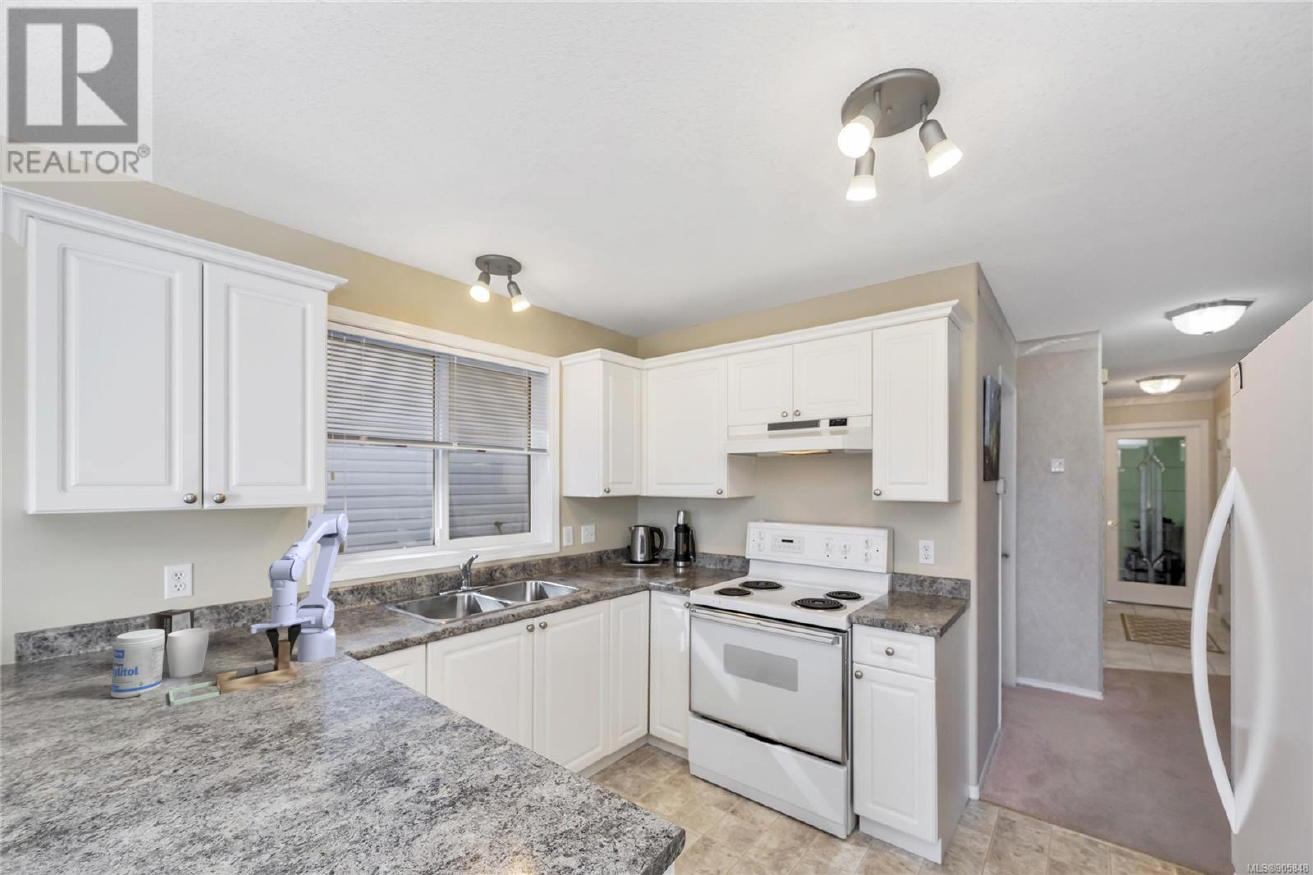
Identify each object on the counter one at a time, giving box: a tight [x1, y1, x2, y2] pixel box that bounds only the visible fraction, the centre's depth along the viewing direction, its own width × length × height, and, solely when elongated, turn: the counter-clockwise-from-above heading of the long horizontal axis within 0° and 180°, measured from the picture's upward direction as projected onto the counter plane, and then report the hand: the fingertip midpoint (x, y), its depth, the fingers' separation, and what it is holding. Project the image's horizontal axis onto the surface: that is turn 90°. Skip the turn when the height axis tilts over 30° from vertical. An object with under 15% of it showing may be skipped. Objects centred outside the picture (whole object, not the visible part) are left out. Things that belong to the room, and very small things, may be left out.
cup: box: [166, 627, 210, 679], centre depth 155 cm, size 9×9×12 cm
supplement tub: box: [110, 628, 165, 699], centre depth 144 cm, size 10×10×15 cm
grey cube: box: [254, 662, 274, 675], centre depth 148 cm, size 4×4×4 cm
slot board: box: [215, 661, 298, 695], centre depth 147 cm, size 16×10×3 cm, turn 133°
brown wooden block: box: [274, 638, 291, 671], centre depth 151 cm, size 2×5×9 cm, turn 43°
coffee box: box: [148, 608, 195, 674], centre depth 162 cm, size 9×6×16 cm
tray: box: [167, 680, 220, 707], centre depth 139 cm, size 9×11×2 cm
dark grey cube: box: [236, 666, 255, 679], centre depth 146 cm, size 4×4×4 cm
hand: (282, 655), depth 151 cm, fingers closed on brown wooden block, 2 cm apart
